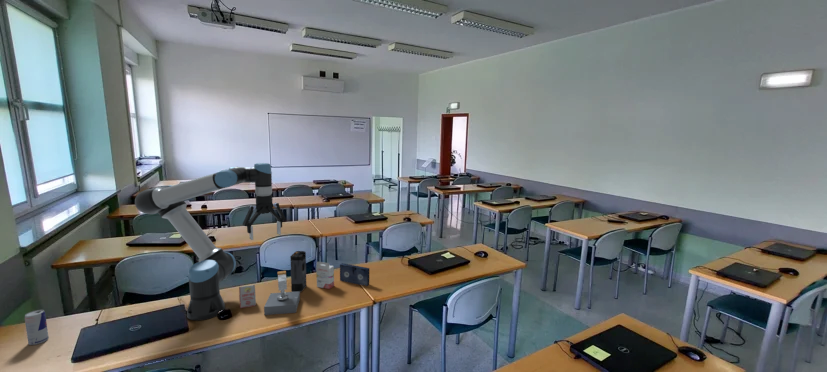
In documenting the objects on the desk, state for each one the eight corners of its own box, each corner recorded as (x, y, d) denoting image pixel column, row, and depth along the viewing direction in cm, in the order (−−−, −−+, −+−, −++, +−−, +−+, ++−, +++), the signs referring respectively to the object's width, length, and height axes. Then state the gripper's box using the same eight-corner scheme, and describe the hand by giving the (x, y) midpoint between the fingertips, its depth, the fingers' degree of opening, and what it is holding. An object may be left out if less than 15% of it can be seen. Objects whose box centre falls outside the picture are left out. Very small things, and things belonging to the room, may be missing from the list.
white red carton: (240, 304, 163) (239, 285, 162) (255, 302, 166) (254, 283, 165) (239, 308, 160) (238, 288, 159) (255, 305, 163) (254, 286, 161)
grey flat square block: (264, 315, 154) (264, 306, 154) (271, 300, 168) (270, 292, 167) (295, 312, 157) (295, 304, 156) (299, 298, 171) (299, 291, 170)
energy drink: (52, 337, 134) (49, 309, 132) (38, 345, 129) (34, 316, 127) (39, 337, 134) (35, 309, 132) (24, 345, 128) (19, 316, 127)
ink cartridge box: (334, 285, 187) (334, 260, 185) (329, 289, 182) (329, 263, 180) (321, 283, 189) (320, 258, 187) (316, 287, 185) (315, 261, 182)
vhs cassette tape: (369, 284, 189) (369, 267, 188) (367, 286, 187) (367, 269, 185) (342, 278, 196) (342, 262, 195) (339, 280, 193) (339, 264, 192)
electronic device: (301, 292, 177) (300, 256, 174) (290, 292, 177) (289, 256, 175) (307, 285, 186) (306, 250, 184) (296, 284, 187) (295, 250, 184)
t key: (288, 302, 158) (288, 279, 156) (277, 304, 156) (276, 280, 154) (287, 292, 168) (286, 270, 166) (277, 293, 166) (276, 271, 164)
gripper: (285, 191, 174) (286, 230, 177) (233, 196, 156) (236, 239, 159) (291, 193, 169) (292, 233, 172) (239, 198, 151) (241, 243, 154)
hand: (265, 236), depth 166 cm, fingers open, 13 cm apart
